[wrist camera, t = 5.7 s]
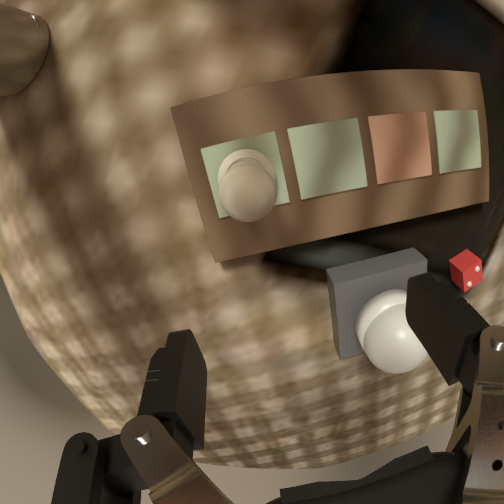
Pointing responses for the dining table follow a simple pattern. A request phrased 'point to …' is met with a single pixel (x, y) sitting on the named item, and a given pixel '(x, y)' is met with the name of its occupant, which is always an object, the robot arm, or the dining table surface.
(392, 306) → the dome
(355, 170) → the game board
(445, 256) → the dining table surface
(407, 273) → the dome housing
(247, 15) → the dining table surface
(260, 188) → the pawn
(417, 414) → the dining table surface
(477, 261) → the red die
